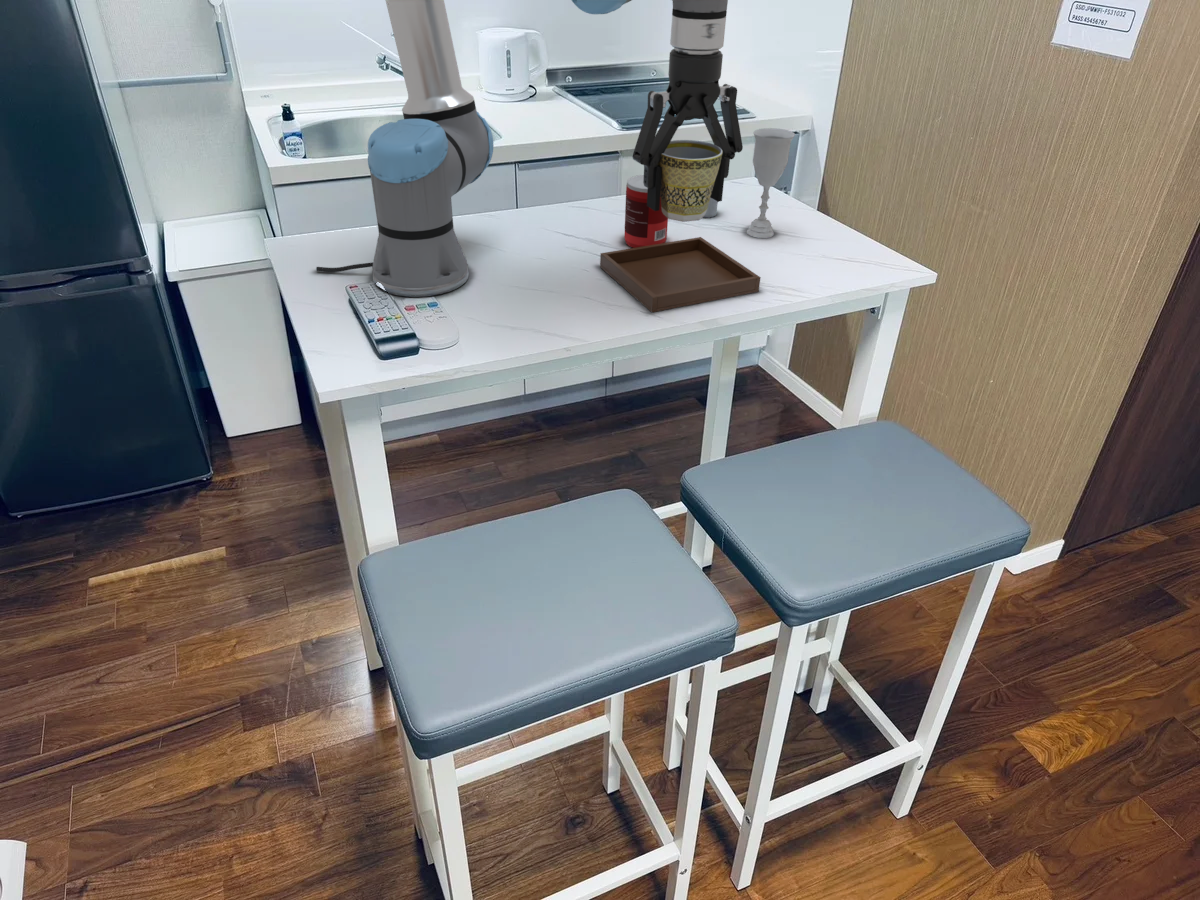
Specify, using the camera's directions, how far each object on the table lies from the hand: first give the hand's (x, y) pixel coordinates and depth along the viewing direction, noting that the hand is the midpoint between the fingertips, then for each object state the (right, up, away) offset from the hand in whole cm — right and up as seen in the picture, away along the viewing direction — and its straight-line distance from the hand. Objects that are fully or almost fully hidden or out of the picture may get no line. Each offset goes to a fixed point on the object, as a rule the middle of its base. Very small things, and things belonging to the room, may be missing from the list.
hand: (684, 203), depth 131 cm
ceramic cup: (+1, -1, +1) cm, 2 cm away
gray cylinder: (+7, +8, +33) cm, 35 cm away
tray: (0, -10, +7) cm, 13 cm away
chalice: (+17, +2, +25) cm, 30 cm away
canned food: (-5, -1, +20) cm, 21 cm away
